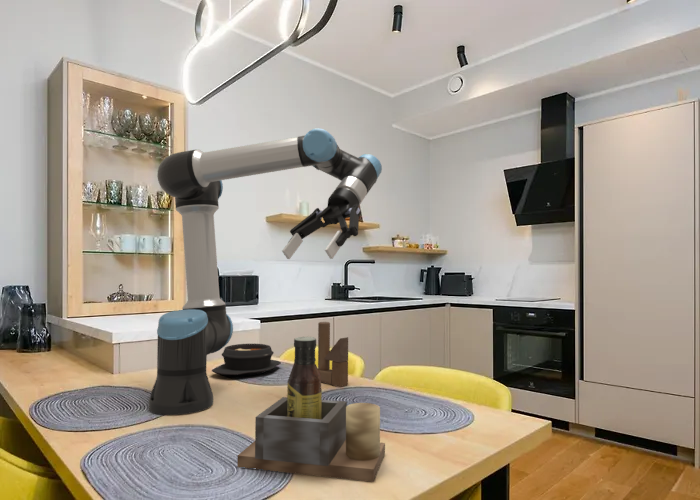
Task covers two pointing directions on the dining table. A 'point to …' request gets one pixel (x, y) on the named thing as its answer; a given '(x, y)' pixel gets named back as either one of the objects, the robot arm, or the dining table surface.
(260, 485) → the dining table surface
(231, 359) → the casserole
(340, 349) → the wooden block
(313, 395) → the sauce bottle
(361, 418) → the post socket
